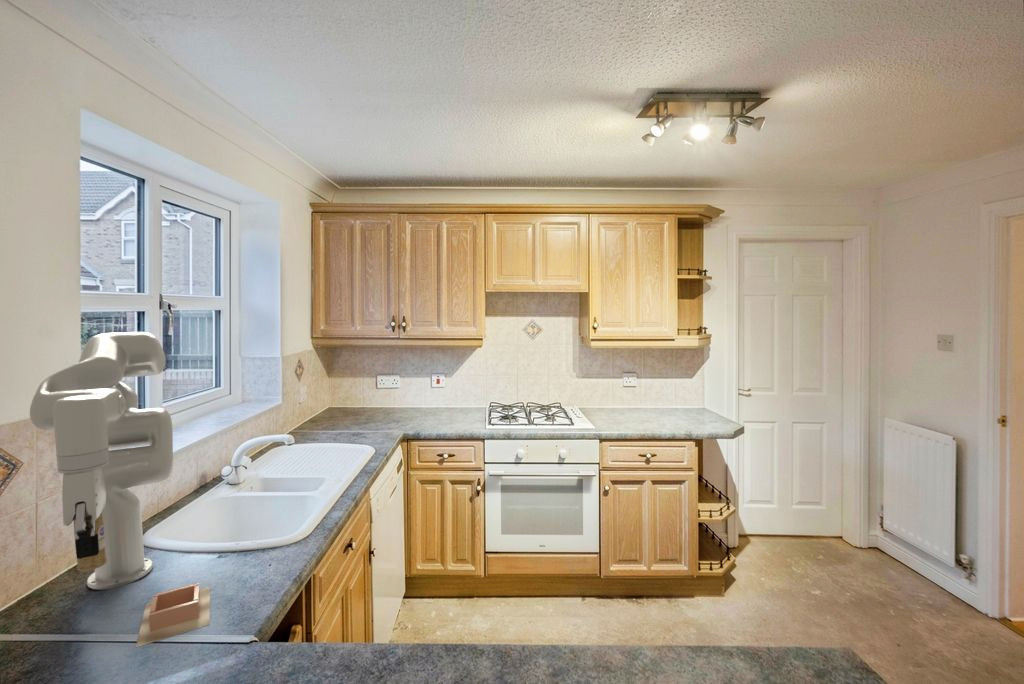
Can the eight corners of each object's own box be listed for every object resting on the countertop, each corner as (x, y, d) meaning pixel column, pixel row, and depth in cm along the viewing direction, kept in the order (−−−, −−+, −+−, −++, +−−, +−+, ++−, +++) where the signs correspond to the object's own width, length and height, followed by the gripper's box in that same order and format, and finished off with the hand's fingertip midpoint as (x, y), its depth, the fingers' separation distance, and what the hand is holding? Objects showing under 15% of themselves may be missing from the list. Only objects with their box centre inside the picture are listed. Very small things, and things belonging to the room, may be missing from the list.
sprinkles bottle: (105, 567, 93) (99, 501, 92) (74, 575, 91) (68, 506, 89) (108, 557, 97) (103, 493, 96) (79, 564, 94) (73, 498, 93)
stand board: (146, 608, 105) (146, 603, 105) (210, 591, 111) (210, 586, 111) (136, 653, 92) (135, 647, 91) (209, 630, 98) (209, 624, 98)
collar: (154, 610, 103) (153, 594, 102) (200, 597, 107) (199, 582, 107) (150, 631, 96) (149, 615, 95) (199, 617, 100) (198, 601, 100)
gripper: (69, 451, 97) (76, 537, 99) (43, 476, 83) (52, 577, 84) (116, 445, 101) (123, 528, 103) (99, 468, 87) (107, 564, 88)
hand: (91, 549), depth 93 cm, fingers closed on sprinkles bottle, 4 cm apart
